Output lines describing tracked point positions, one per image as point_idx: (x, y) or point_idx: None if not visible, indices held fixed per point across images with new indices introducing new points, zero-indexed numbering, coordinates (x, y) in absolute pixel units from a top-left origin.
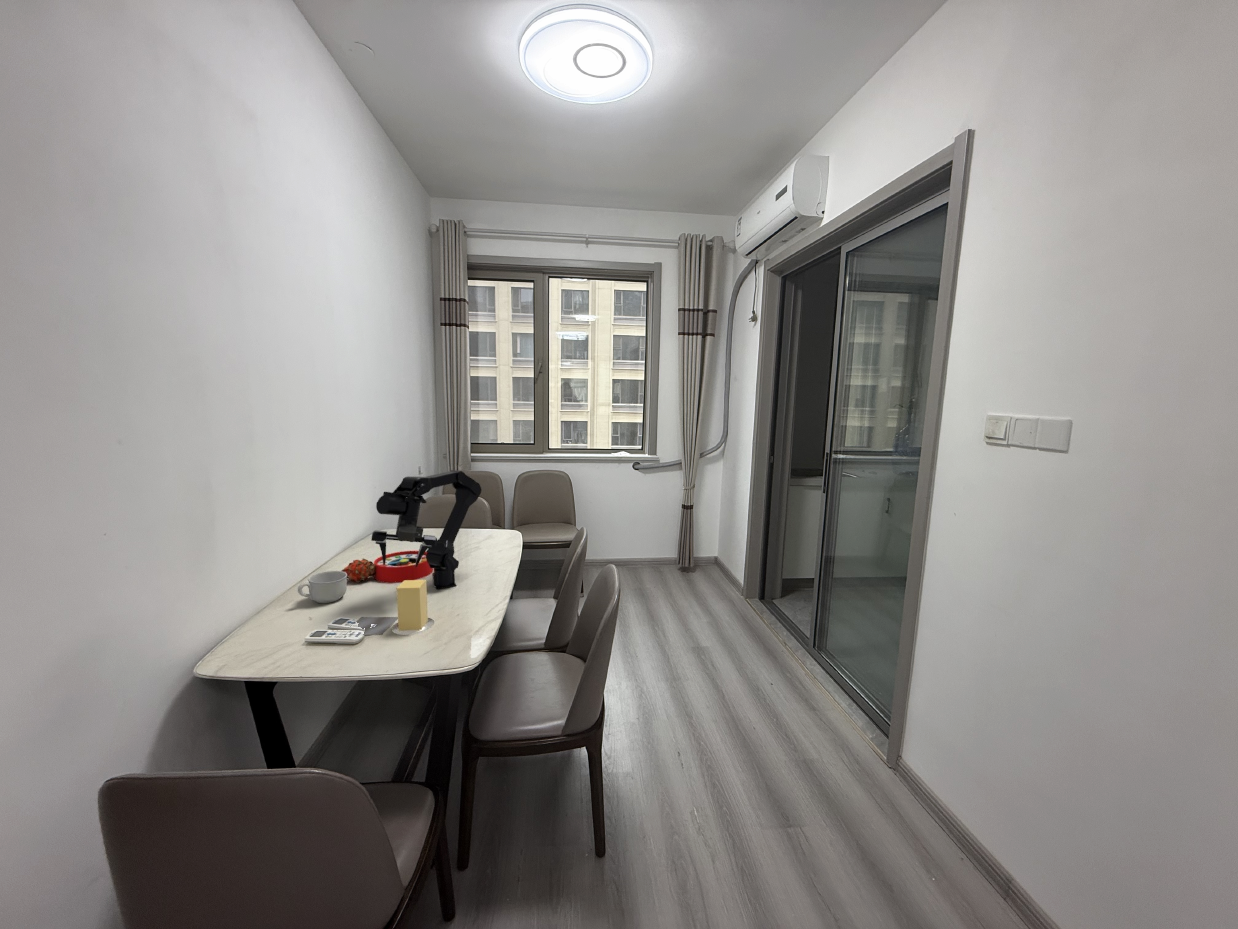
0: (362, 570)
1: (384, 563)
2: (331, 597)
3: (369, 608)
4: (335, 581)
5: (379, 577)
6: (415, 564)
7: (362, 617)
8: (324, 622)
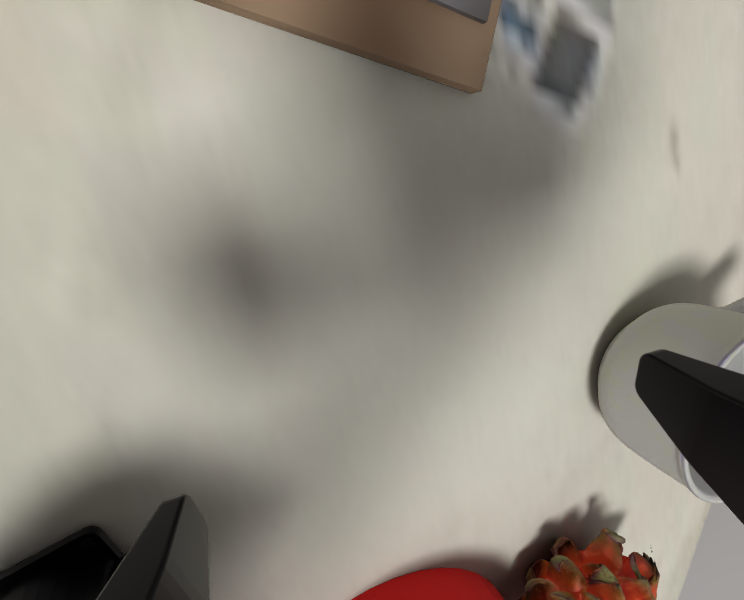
0: (590, 593)
1: (671, 359)
2: (650, 317)
3: (463, 229)
4: (728, 357)
5: (490, 591)
6: (202, 555)
7: (480, 9)
8: (628, 72)
